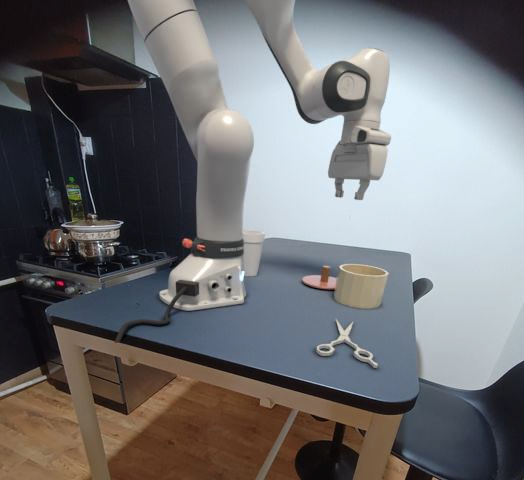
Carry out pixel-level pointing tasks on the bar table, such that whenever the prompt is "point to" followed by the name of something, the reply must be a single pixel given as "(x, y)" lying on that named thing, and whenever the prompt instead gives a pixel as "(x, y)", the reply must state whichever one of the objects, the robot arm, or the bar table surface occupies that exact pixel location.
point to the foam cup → (252, 251)
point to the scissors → (346, 339)
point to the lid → (321, 279)
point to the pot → (360, 286)
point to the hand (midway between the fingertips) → (348, 198)
